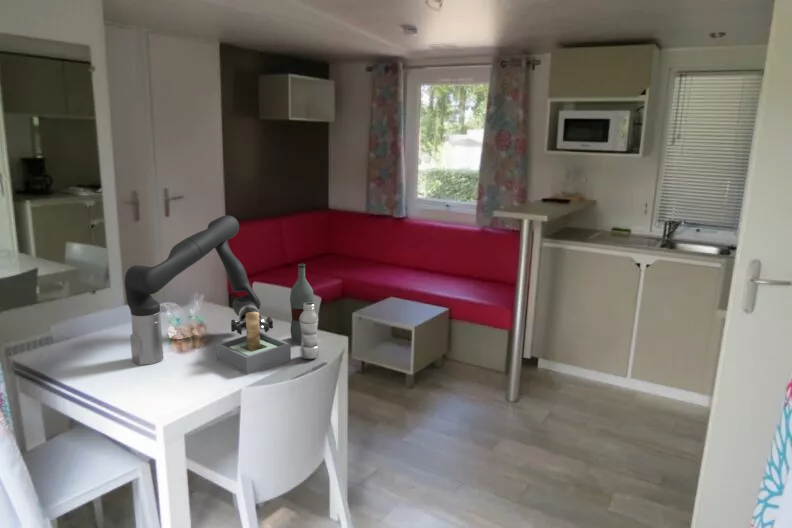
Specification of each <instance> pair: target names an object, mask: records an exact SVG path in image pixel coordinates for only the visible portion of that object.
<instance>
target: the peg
mask: <svg viewBox="0 0 792 528" xmlns="http://www.w3.org/2000/svg"><path fill="white" fill-rule="evenodd" d="M259 313H260V312H259ZM259 313H258V312H248V313H246V330H245V331H246V333H245V336H247V350H248V351H250V352H253V351H256V350H259V349H260V332H261V331H260V330H261V329H260V323H259Z"/></svg>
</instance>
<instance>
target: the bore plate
mask: <svg viewBox="0 0 792 528" xmlns="http://www.w3.org/2000/svg"><path fill="white" fill-rule="evenodd" d="M275 347H278V346H275V345H273V344H270V343H268V342H265V341H263V340H260V349H259V350H256V351H253V352H250V351H248V350H247V342H244V343H241V344H237V345H234V346H230V347H229V348H230V349H233V350H235V351H237V352H239V353H241V354H244V355H246V356H249V355H253V354H256V353H259V352H262V351H266V350H269V349H272V348H275Z"/></svg>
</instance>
